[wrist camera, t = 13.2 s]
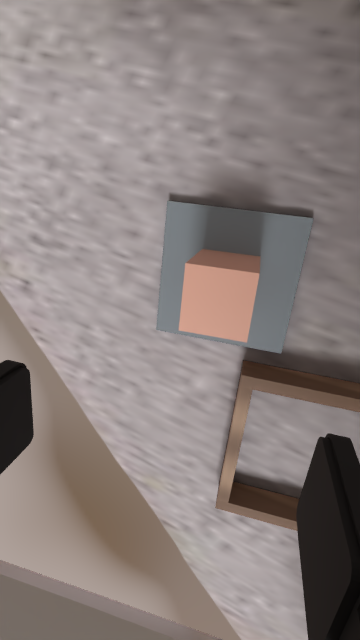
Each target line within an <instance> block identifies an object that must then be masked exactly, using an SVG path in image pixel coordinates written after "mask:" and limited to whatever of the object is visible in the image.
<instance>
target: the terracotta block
mask: <svg viewBox="0 0 360 640" xmlns="http://www.w3.org/2000/svg"><path fill="white" fill-rule="evenodd" d="M259 274H260V256H253V255H245V254H237V253H230V252H222V251H215V250H207V249H202V250H201V251H199V252H198V253H197V254H196V255H195V256H193V257H192V258H191V259H190V260H188V261H187V262H186V263H185V272H184V282H183V292H182V302H181V312H180V321H179V331H185V332H190V333H196V334H202V335H207V336H213V337H218V338H224V339H230V340H235V341H241V342H246V343H247V340H248V334H249V329H250V323H251V318H252V312H253V307H254V302H255V296H256V291H257V285H258V280H259Z"/></svg>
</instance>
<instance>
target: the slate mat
mask: <svg viewBox="0 0 360 640" xmlns="http://www.w3.org/2000/svg"><path fill="white" fill-rule="evenodd" d="M313 219H314V218H310V217H301V216H293V215H285V214H276V213H268V212H260V211H251V210H243V209H235V208H226V207H218V206H209V205H201V204H193V203H184V202H176V201H167V211H166V223H165V234H164V246H163V257H162V269H161V281H160V292H159V304H158V316H157V327H156V330H160V331H165V332H170V333H175V334H181V335H186V336H191V337H196V338H202V339H207V340H212V341H217V342H222V343H228V344H233V345H238V346H243V347H249V348H254V349H259V350H264V351H269V352H275V353H280V354H281V353H282V348H283V344H284V340H285V336H286V332H287V327H288V323H289V319H290V315H291V311H292V307H293V302H294V298H295V294H296V290H297V286H298V282H299V277H300V273H301V269H302V265H303V261H304V256H305V252H306V248H307V244H308V240H309V236H310V231H311V227H312V223H313ZM202 249H207V250H215V251H222V252H230V253H237V254H245V255H253V256H260V274H259V280H258V285H257V291H256V296H255V302H254V307H253V312H252V318H251V323H250V329H249V334H248V340H247V343H246V342H241V341H235V340H230V339H224V338H218V337H213V336H207V335H202V334H196V333H190V332H185V331H179V321H180V312H181V302H182V292H183V282H184V272H185V263H186V262H187V261H188V260H190V259H191V258H192V257H193V256H195V255H196V254H197V253H198V252H199V251H201V250H202Z"/></svg>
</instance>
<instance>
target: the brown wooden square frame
mask: <svg viewBox="0 0 360 640" xmlns="http://www.w3.org/2000/svg"><path fill="white" fill-rule="evenodd" d="M252 390H258V391H262V392H267V393H272V394H276V395H281V396H286V397H291V398H295V399H300V400H305V401H309V402H314V403H319V404H323V405H328V406H333V407H337V408H342V409H347V410H352V411H356V412H360V383H355V382H350V381H345V380H340V379H335V378H330V377H325V376H320V375H315V374H310V373H305V372H300V371H295V370H290V369H285V368H280V367H275V366H270V365H265V364H260V363H254V362H249V361H244V360H243V365H242V370H241V375H240V380H239V385H238V390H237V396H236V401H235V406H234V411H233V416H232V421H231V426H230V431H229V437H228V442H227V447H226V452H225V457H224V462H223V467H222V472H221V477H220V483H219V488H218V495H217V501H216V507H215V508H217V509H221V510H225V511H228V512H232V513H235V514H239V515H242V516H246V517H249V518H253V519H257V520H260V521H264V522H267V523H271V524H274V525H278V526H282V527H285V528H289V529H292V530H296V531H298V530H297V520H296V512H297V505H298V502H299V499H298V498H294V497H290V496H286V495H282V494H279V493H275V492H271V491H267V490H264V489H260V488H256V487H252V486H248V485H245V484H241V483H237V482H233V479H234V474H235V469H236V465H237V460H238V455H239V451H240V446H241V441H242V437H243V432H244V427H245V423H246V418H247V413H248V408H249V404H250V399H251V394H252Z"/></svg>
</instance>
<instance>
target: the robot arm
mask: <svg viewBox="0 0 360 640" xmlns="http://www.w3.org/2000/svg"><path fill="white" fill-rule="evenodd" d="M31 401H32V400H31V384H30V372H29V370H28V369H27V368H26V366H25V364H23V363H19V362H15V361H11V360H6V361H4V362H2V363H0V474H1V473H2V472H3V471H4V470H5V469H6V468H7V467H8V466H9V465H10V464H11V463H12V462H13V461H14V460H15V459H16V458H17V457H18V456H19V455H20V454H21V452H22V451H23V450H24V449H25V448H26V447H27V446H28V445H29V444H30V442H31V441H32V438H33V417H32V402H31ZM296 520H297V530H298V540H299V550H300V560H301V570H302V580H303V590H304V600H305V611H306V621H307V631H308V640H360V463H359V461H358V458H357V455H356V452H355V450H354V447H353V444H352V441H351V439H350V438H347V437H343V436H338V435H334V434H327V435H326V437H325V438H324V437H319V439H318V441H317V445H316V448H315V451H314V454H313V457H312V461H311V464H310V467H309V470H308V473H307V476H306V480H305V483H304V486H303V489H302V492H301V496H300V499H299V502H298V505H297V512H296ZM0 640H222V639H220V638H217V637H214V636H212V635H209V634H207V633H204V632H201V631H198V630H196V629H193V628H190V627H187V626H184V625H182V624H179V623H176V622H173V621H170V620H168V619H165V618H162V617H159V616H157V615H154V614H151V613H148V612H145V611H142V610H140V609H137V608H134V607H131V606H129V605H126V604H123V603H120V602H118V601H115V600H112V599H109V598H107V597H104V596H101V595H98V594H95V593H92V592H89V591H87V590H84V589H81V588H78V587H76V586H73V585H69V584H67V583H64V582H61V581H59V580H56V579H53V578H50V577H47V576H44V575H42V574H38V573H36V572H33V571H30V570H27V569H25V568H22V567H19V566H16V565H13V564H10V563H7V562H5V561H2V560H0Z"/></svg>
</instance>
